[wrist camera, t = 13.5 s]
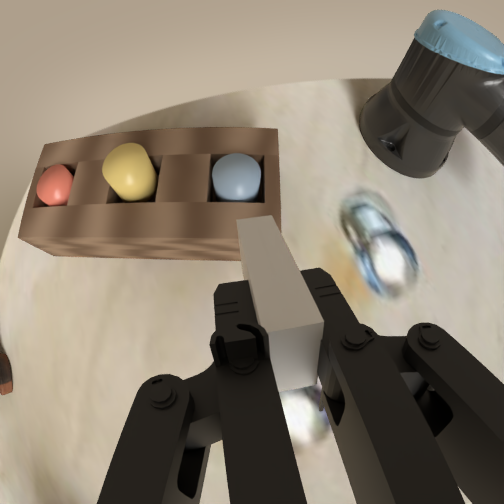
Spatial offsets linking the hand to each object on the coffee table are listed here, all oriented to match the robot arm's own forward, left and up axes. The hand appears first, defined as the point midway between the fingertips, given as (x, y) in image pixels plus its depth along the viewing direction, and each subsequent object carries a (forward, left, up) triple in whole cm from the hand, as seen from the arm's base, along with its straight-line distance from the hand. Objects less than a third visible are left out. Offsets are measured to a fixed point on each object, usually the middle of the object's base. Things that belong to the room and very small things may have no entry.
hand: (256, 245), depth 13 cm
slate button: (+1, -10, -16) cm, 19 cm away
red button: (+21, -10, -16) cm, 28 cm away
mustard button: (+11, -10, -13) cm, 20 cm away
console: (+11, -10, -20) cm, 25 cm away
